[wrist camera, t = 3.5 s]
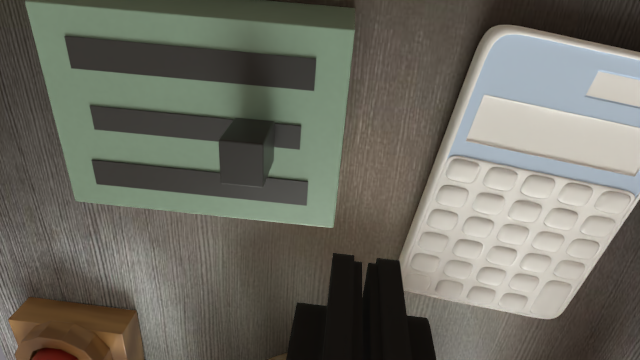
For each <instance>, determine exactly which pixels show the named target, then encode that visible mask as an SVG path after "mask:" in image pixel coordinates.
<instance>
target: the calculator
mask: <svg viewBox="0 0 640 360" xmlns="http://www.w3.org/2000/svg"><path fill="white" fill-rule="evenodd" d="M639 199H640V52H636V51H632V50H627V49H623V48H618V47H613V46H609V45H604V44H600V43H595V42H591V41H586V40H581V39H577V38H572V37H568V36H563V35H559V34H554V33H549V32H545V31H540V30H536V29H531V28H526V27H522V26H515V25H497V26H494V27H492V28H490V29H489V30H488V31H487V32H486V33H485V34H484V36H483V37H482V39H481V41H480V43H479V44H478V47H477V49H476V52H475V54H474V56H473V59H472V62H471V64H470V67H469V70H468V72H467V75H466V78H465V80H464V83H463V86H462V89H461V91H460V94H459V97H458V99H457V102H456V105H455V108H454V110H453V113H452V116H451V118H450V121H449V124H448V127H447V129H446V132H445V135H444V137H443V140H442V143H441V146H440V148H439V151H438V154H437V156H436V159H435V162H434V165H433V167H432V170H431V173H430V175H429V178H428V181H427V184H426V186H425V189H424V192H423V195H422V197H421V200H420V203H419V205H418V208H417V211H416V214H415V216H414V219H413V222H412V224H411V227H410V230H409V233H408V235H407V238H406V241H405V243H404V246H403V249H402V252H401V254H400V257H399V261H400V267H401V275H402V283H403V290H405V291H407V292H411V293H415V294H420V295H425V296H430V297H435V298H440V299H445V300H450V301H455V302H459V303H464V304H469V305H474V306H479V307H484V308H489V309H494V310H499V311H504V312H509V313H514V314H519V315H524V316H529V317H534V318H540V319H553V318H556V317H558V316H559V315H560V314H561V313H562V312H563V311H564V310H565V308H566V307H567V306H568V304H569V303H570V301H571V300H572V298H573V297H574V295H575V294H576V292H577V291H578V290H579V288H580V287H581V285H582V284H583V282H584V281H585V279H586V278H587V276H588V275H589V273H590V272H591V270H592V269H593V267H594V266H595V264H596V263H597V261H598V260H599V258H600V257H601V255H602V254H603V252H604V251H605V250H606V248H607V247H608V245H609V244H610V242H611V241H612V239H613V238H614V236H615V235H616V233H617V232H618V230H619V229H620V227H621V226H622V224H623V223H624V221H625V220H626V218H627V217H628V215H629V214H630V212H631V211H632V209H633V208H634V207H635V205H636V204H637V202H638V201H639Z"/></svg>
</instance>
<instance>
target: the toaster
mask: <svg viewBox="0 0 640 360" xmlns="http://www.w3.org/2000/svg"><path fill="white" fill-rule="evenodd" d="M25 4H26V8H27V12H28V16H29V20H30V24H31V28H32V32H33V36H34V40H35V43H36V47H37V51H38V55H39V59H40V63H41V67H42V71H43V75H44V79H45V83H46V87H47V91H48V95H49V99H50V103H51V107H52V111H53V115H54V119H55V122H56V126H57V130H58V134H59V138H60V142H61V146H62V150H63V154H64V158H65V162H66V166H67V170H68V174H69V178H70V182H71V186H72V190H73V194H74V198H75V201H79V202H89V203H99V204H108V205H118V206H127V207H137V208H147V209H156V210H166V211H175V212H185V213H194V214H204V215H214V216H223V217H233V218H242V219H252V220H262V221H271V222H281V223H290V224H300V225H309V226H319V227H329V228H333V227H334V220H335V211H336V201H337V192H338V183H339V174H340V164H341V155H342V146H343V136H344V127H345V118H346V108H347V99H348V90H349V80H350V71H351V62H352V52H353V43H354V34H355V8H347V7H336V6H324V5H313V4H301V3H289V2H278V1H266V0H26V1H25ZM235 118H246V119H256V120H267V121H274V122H275V135H274V162H273V164H272V167H271V169H270V171H269V174H268V176H267V179H266V181H265V184H264V186H263V188H260V187H250V186H240V185H230V184H222V183H221V181H220V162H219V142H218V140H219V139H220V137H221V136H222V135H223V133H224V132H225V131H226V129H227V128H228V127H229V125H230V124H231V123H232V121H233V120H234V119H235Z"/></svg>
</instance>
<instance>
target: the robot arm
mask: <svg viewBox="0 0 640 360" xmlns="http://www.w3.org/2000/svg"><path fill="white" fill-rule="evenodd" d="M286 360H436V355H435V350H434V345H433V339H432V334H431V329H430V324H429V321H428V319H427V318H423V317H415V316H407V314H406V306H405V298H404V290H403V283H402V275H401V267H400V261H399V260H390V259H381V258H377V260H376V264H374V263H368V267H367V273H366V279H365V285H364V291H363V297H362V262H356V261H354V255H346V254H337V253H333V258H332V267H331V276H330V285H329V294H328V303H327V306H323V305H315V304H306V303H298V302H297V305H296V310H295V315H294V320H293V325H292V331H291V336H290V341H289V347H288V352H287V357H286Z"/></svg>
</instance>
